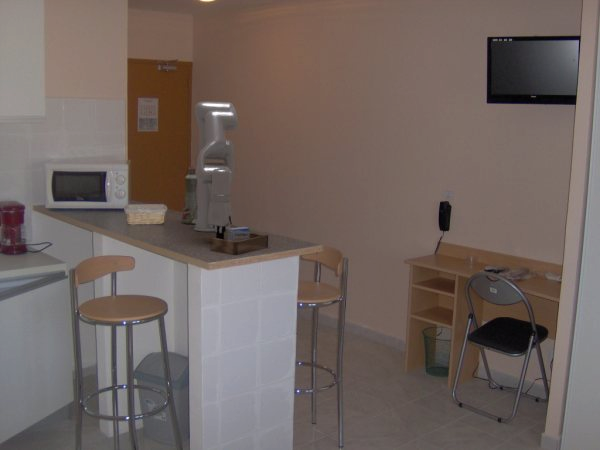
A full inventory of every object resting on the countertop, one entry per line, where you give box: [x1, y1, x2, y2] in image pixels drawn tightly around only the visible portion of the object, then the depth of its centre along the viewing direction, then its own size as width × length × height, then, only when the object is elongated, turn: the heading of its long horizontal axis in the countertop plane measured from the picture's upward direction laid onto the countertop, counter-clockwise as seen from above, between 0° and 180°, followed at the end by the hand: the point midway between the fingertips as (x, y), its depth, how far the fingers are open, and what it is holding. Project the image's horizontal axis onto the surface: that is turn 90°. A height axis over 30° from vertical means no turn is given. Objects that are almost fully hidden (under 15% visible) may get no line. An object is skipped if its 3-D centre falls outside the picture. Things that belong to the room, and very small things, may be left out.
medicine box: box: [227, 226, 250, 242], centre depth 294 cm, size 8×4×9 cm, turn 126°
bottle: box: [180, 166, 198, 225], centre depth 349 cm, size 9×9×28 cm
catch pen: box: [209, 231, 269, 256], centre depth 294 cm, size 13×21×5 cm, turn 146°
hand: (220, 241), depth 300 cm, fingers closed
